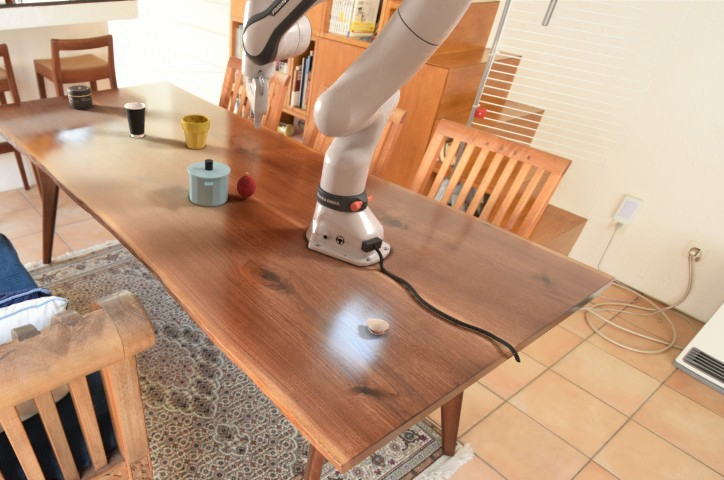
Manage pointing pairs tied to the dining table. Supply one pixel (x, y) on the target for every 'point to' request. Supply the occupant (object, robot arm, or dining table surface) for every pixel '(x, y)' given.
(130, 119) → the dixie cup
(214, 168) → the pot lid
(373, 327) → the macaroon
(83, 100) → the jar
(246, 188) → the onion
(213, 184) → the pot
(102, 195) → the dining table surface
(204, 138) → the flower pot
